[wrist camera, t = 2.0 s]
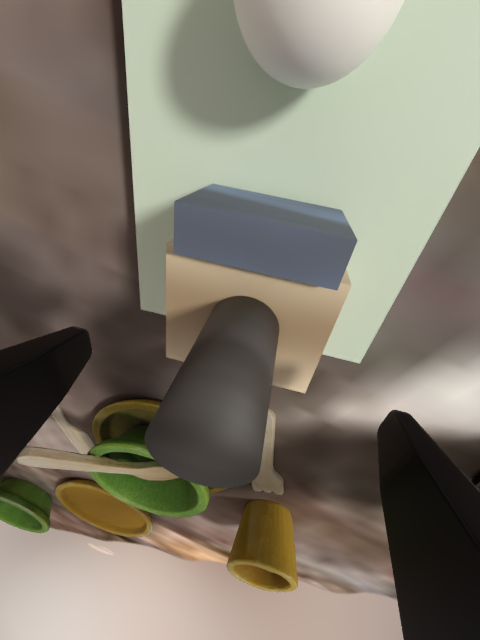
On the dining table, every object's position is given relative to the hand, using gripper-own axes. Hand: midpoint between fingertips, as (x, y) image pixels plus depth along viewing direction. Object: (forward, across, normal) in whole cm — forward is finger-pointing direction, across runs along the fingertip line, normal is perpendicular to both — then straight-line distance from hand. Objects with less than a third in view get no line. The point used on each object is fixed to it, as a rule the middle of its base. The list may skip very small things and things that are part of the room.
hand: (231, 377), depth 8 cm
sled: (+6, 0, -1) cm, 6 cm away
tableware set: (+8, +12, +27) cm, 31 cm away
